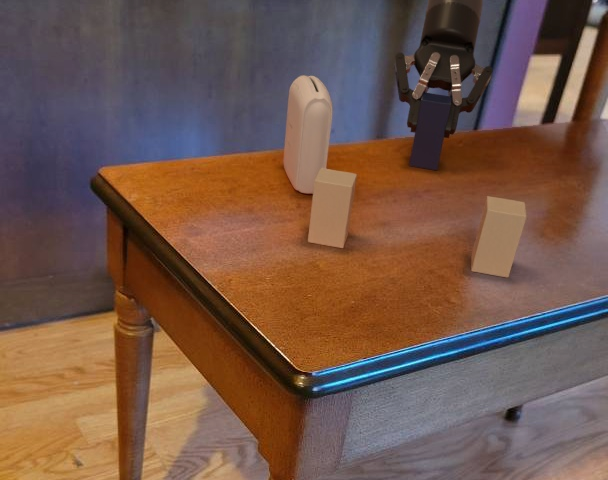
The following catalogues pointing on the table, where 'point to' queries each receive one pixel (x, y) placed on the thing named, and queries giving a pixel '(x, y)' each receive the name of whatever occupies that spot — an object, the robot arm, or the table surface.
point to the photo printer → (307, 132)
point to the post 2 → (498, 236)
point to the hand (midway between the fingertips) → (430, 131)
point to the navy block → (430, 131)
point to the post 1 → (331, 207)
